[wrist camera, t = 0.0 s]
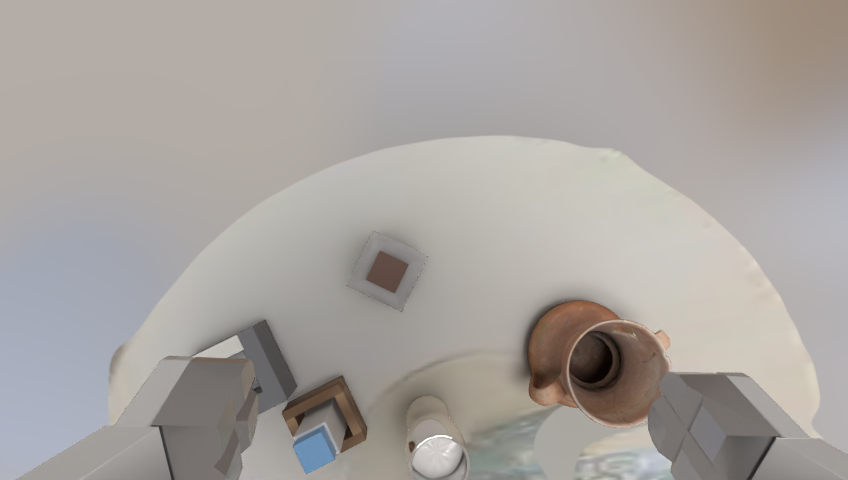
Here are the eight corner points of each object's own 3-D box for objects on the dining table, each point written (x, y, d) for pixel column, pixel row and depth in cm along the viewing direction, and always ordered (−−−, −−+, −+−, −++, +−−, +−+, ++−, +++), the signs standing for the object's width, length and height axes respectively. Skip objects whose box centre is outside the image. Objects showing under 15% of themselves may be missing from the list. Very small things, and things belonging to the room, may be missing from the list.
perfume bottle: (398, 300, 63) (403, 317, 45) (355, 280, 63) (341, 288, 45) (419, 257, 63) (432, 256, 45) (376, 236, 63) (371, 227, 45)
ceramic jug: (604, 279, 65) (661, 284, 51) (644, 372, 65) (712, 403, 51) (492, 329, 64) (518, 348, 50) (532, 423, 64) (570, 470, 50)
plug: (347, 421, 62) (338, 460, 50) (321, 435, 61) (304, 478, 49) (335, 395, 62) (322, 428, 50) (308, 409, 61) (289, 445, 49)
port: (297, 386, 61) (287, 400, 55) (228, 420, 60) (210, 438, 54) (265, 320, 61) (251, 326, 55) (196, 353, 60) (174, 364, 54)
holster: (367, 428, 62) (366, 439, 58) (314, 455, 61) (308, 469, 57) (342, 375, 62) (338, 383, 58) (288, 402, 61) (281, 412, 57)
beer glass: (403, 444, 62) (408, 502, 47) (401, 393, 62) (405, 435, 47) (453, 440, 63) (473, 497, 48) (451, 390, 63) (470, 430, 48)
